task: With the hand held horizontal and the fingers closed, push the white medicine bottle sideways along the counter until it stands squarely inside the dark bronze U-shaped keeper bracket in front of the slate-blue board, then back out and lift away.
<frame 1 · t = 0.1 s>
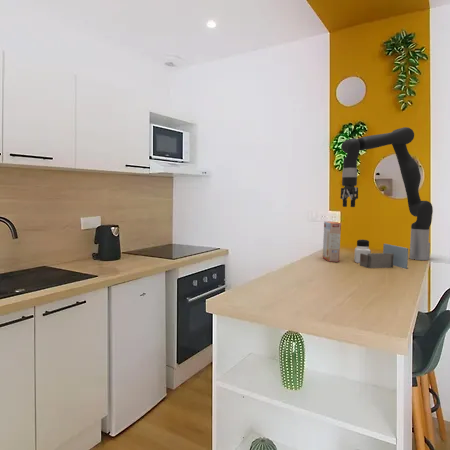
hand: (348, 207, 205), 29 cm above the worktop, tool pointing down, fingers open, 8 cm apart
medicine bottle: (362, 262, 202), on the worktop
cracker box: (330, 260, 207), on the worktop
keeper: (374, 266, 191), on the worktop
door board: (394, 265, 194), on the worktop
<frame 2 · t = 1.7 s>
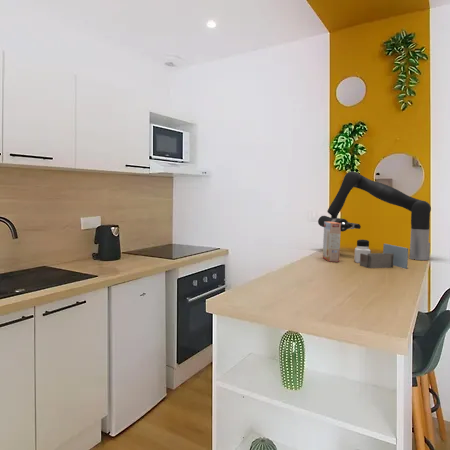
hand: (354, 226, 210), 18 cm above the worktop, tool horizontal, fingers open, 6 cm apart
nothing on the worktop moved.
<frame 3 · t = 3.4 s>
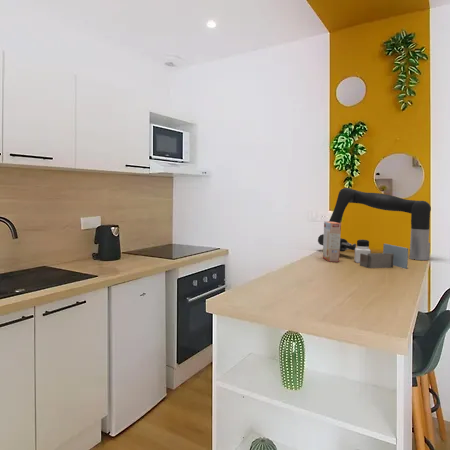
hand: (354, 248, 210), 6 cm above the worktop, tool horizontal, fingers closed
nothing on the worktop moved.
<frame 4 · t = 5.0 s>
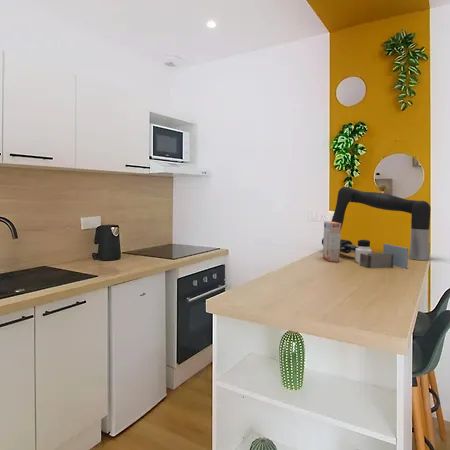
hand: (359, 249, 205), 6 cm above the worktop, tool horizontal, fingers closed
medicine bottle: (363, 262, 201), on the worktop, touching gripper
everything else where it was.
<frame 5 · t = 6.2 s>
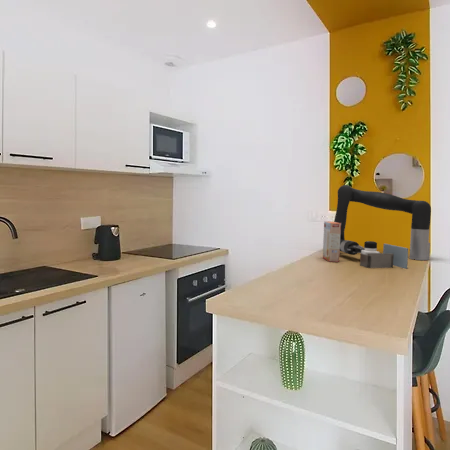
hand: (366, 251, 198), 6 cm above the worktop, tool horizontal, fingers closed
medicine bottle: (369, 265, 195), on the worktop, touching gripper
everything else where it was.
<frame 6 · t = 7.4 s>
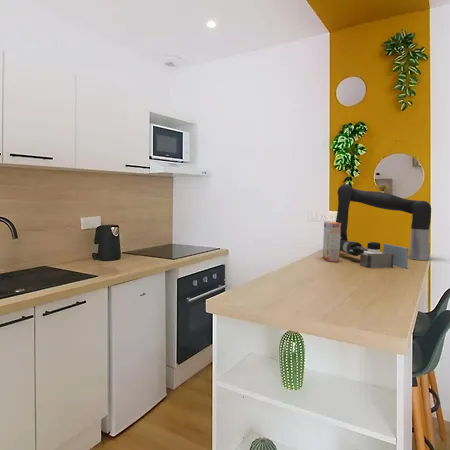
hand: (369, 252, 194), 6 cm above the worktop, tool horizontal, fingers closed
medicine bottle: (372, 266, 191), on the worktop, touching gripper, keeper
everything else where it was.
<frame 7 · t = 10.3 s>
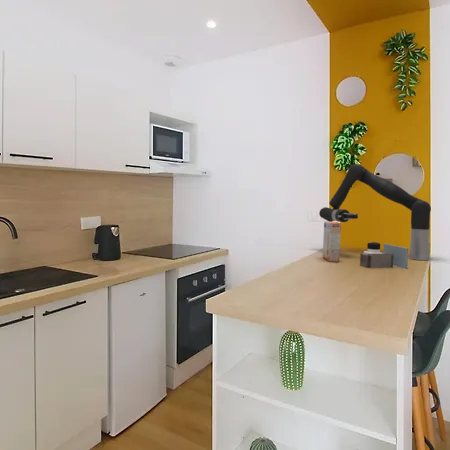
hand: (356, 216, 208), 24 cm above the worktop, tool horizontal, fingers closed
medicine bottle: (372, 266, 191), on the worktop
everything else where it was.
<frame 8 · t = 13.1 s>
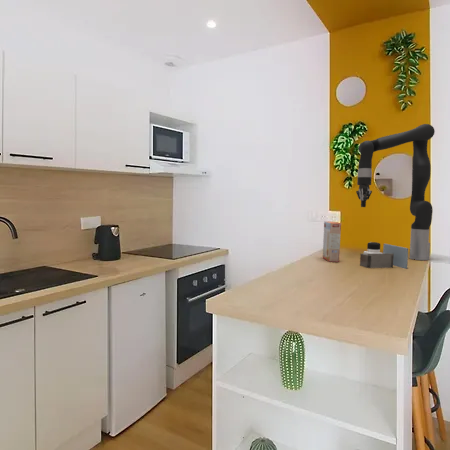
hand: (363, 207, 218), 29 cm above the worktop, tool pointing down, fingers closed
nothing on the worktop moved.
at the end: medicine bottle inside the target area (1.1 cm from its centre), on the worktop; medicine bottle tilted 0°; medicine bottle moved 11.6 cm from its start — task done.
